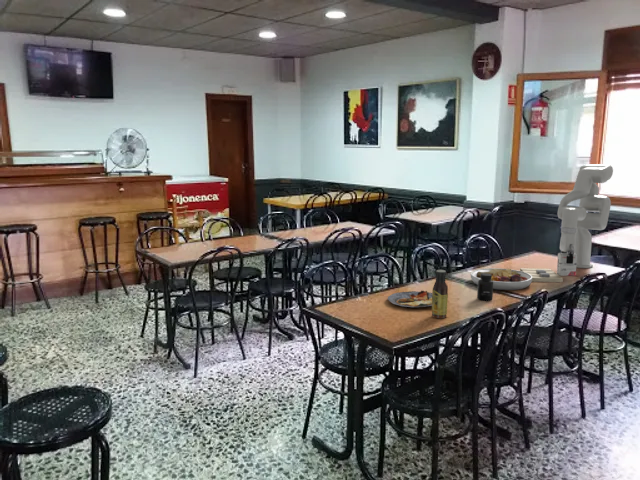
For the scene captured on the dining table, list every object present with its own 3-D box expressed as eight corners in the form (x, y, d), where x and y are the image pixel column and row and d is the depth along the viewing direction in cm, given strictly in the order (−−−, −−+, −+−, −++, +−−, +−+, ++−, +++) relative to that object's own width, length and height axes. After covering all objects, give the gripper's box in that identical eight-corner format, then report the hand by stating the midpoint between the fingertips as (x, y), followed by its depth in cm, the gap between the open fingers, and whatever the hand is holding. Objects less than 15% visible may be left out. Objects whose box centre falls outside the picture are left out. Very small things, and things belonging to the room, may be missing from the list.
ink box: (572, 273, 281) (573, 252, 279) (576, 275, 276) (577, 254, 274) (556, 273, 282) (557, 252, 280) (559, 275, 277) (560, 254, 275)
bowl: (458, 280, 273) (459, 265, 271) (505, 275, 282) (506, 261, 280) (494, 294, 245) (494, 278, 243) (545, 288, 254) (546, 273, 252)
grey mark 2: (539, 275, 270) (539, 272, 270) (547, 275, 270) (547, 272, 270) (541, 277, 267) (541, 274, 266) (549, 277, 266) (549, 274, 266)
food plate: (431, 293, 247) (431, 286, 246) (451, 308, 224) (451, 300, 224) (381, 298, 243) (381, 291, 242) (397, 313, 220) (397, 305, 219)
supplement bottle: (484, 302, 231) (485, 276, 229) (473, 298, 237) (474, 273, 235) (495, 300, 234) (497, 275, 232) (484, 296, 240) (485, 271, 238)
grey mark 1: (536, 272, 277) (536, 269, 277) (543, 272, 276) (543, 269, 276) (538, 274, 273) (538, 271, 273) (545, 274, 272) (546, 271, 272)
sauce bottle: (429, 314, 216) (430, 268, 212) (444, 314, 216) (445, 268, 213) (434, 319, 209) (435, 272, 206) (449, 319, 210) (450, 272, 206)
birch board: (520, 271, 287) (520, 268, 287) (549, 272, 285) (550, 268, 285) (530, 281, 266) (530, 277, 265) (562, 282, 264) (562, 278, 263)
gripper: (556, 228, 284) (554, 258, 286) (566, 232, 267) (564, 264, 269) (570, 228, 283) (568, 259, 285) (582, 233, 266) (579, 265, 268)
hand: (566, 261), depth 277 cm, fingers open, 9 cm apart
